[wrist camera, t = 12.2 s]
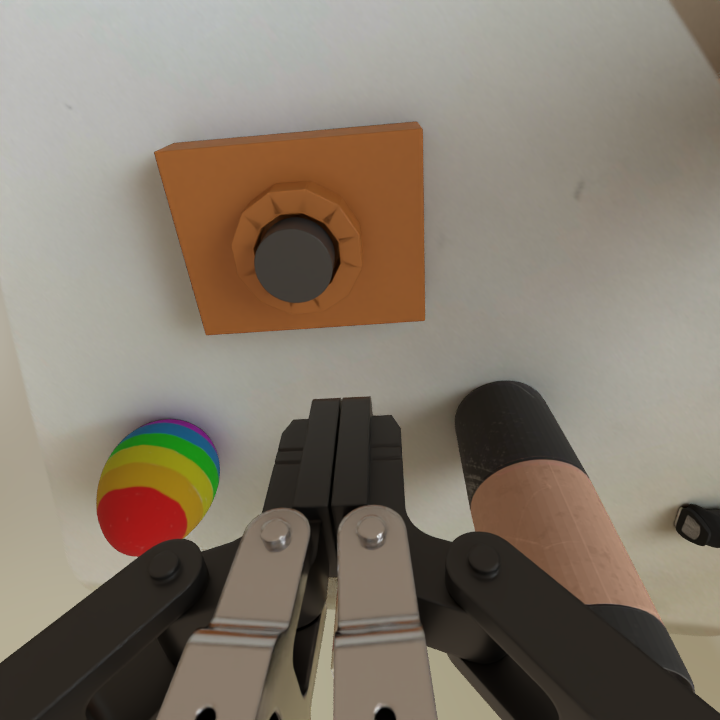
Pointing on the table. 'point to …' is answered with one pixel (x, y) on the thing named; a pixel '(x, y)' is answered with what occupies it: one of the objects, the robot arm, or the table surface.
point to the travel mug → (553, 511)
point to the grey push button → (295, 260)
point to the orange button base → (310, 201)
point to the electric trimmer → (699, 525)
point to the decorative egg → (156, 485)
